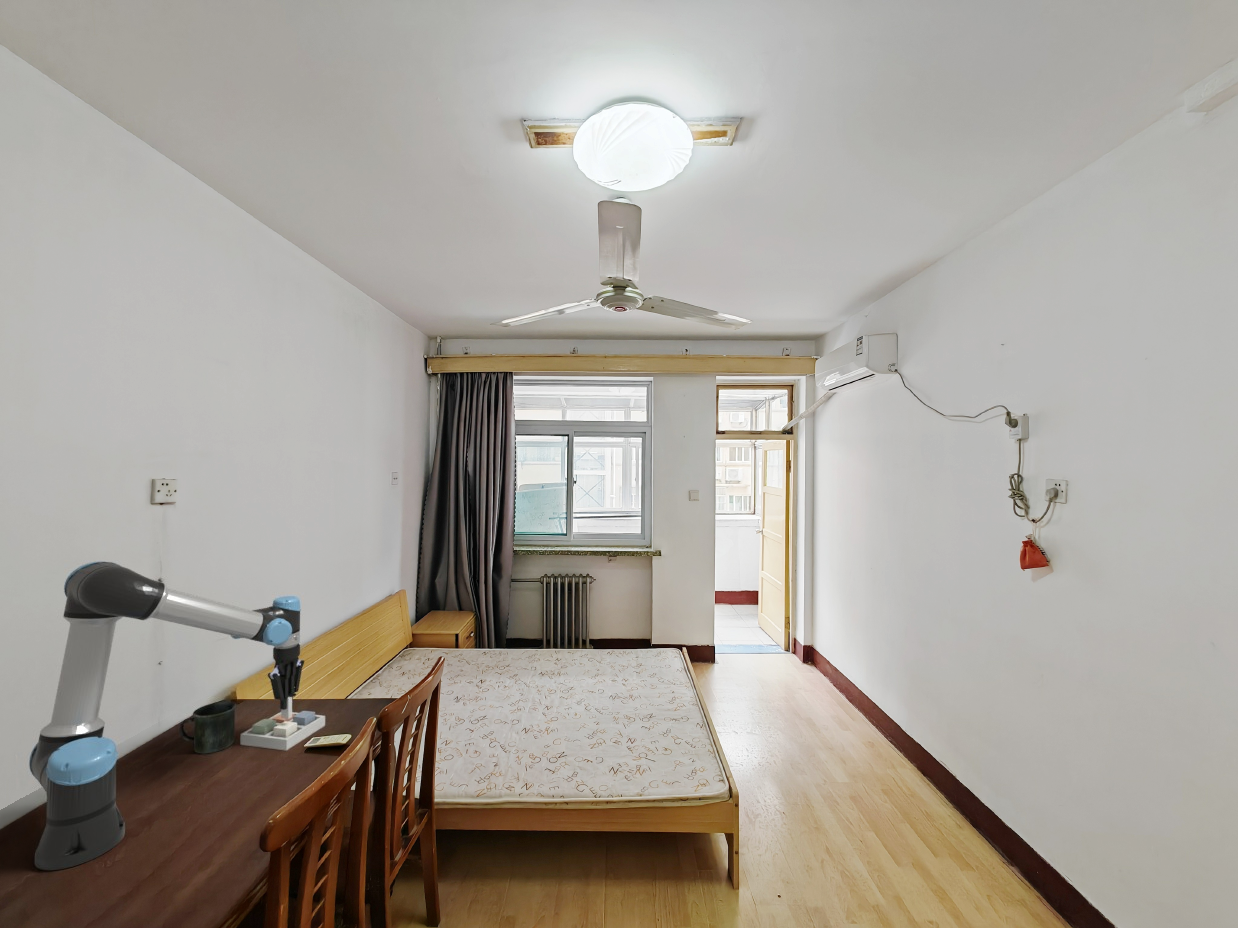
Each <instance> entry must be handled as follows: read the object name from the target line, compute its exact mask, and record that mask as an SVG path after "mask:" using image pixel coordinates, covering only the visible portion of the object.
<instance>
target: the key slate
mask: <svg viewBox="0 0 1238 928" xmlns="http://www.w3.org/2000/svg"><path fill="white" fill-rule="evenodd" d="M297 713H298V714H297V715H295V716H293V722H296V723H297V725H306V724H308V723H310V722H311V721H313V720H315V715H316V712H315V711H310V710H302V711H300V712H297Z"/></svg>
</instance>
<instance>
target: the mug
mask: <svg viewBox="0 0 1238 928" xmlns="http://www.w3.org/2000/svg"><path fill="white" fill-rule="evenodd" d="M236 708H237V703H236V702H233V701H219V702H213V703H209V704H205V705H203V706H200V707H198V708H196V709H195V710H194V711H193V712H192V716H193V717H190V718H186V719H184V720H183V722H181V723H180V726H179V734H180V735H181V738H182V739H183V740H184V741H187V742H193V750H194V752H196V753H197V754H200V755H201V754H202V755H203V754H206V755H207V754H213V753H216V752H217V753H218V752H220V751H223V750H226V749H227V748H228V747H230V746H232V745H233V743H234V742H235V732H236V731H235V719H236V716H235V715H236V713H235V712H236ZM192 722H194V725H193V726H194V729H193V732H194V733H193V735H194V736H189V735H188V734H187V733H186V731H185V727H184V726H185V725H186V724H188V723H192Z"/></svg>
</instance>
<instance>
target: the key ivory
mask: <svg viewBox="0 0 1238 928" xmlns="http://www.w3.org/2000/svg"><path fill="white" fill-rule="evenodd" d="M295 731H297V723H296V722H287V721H285V722H283V723H281V724H279V725H278V726H276V727H274V736H281V737H287V736H289V735H290V734H292V733H293V732H295Z"/></svg>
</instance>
